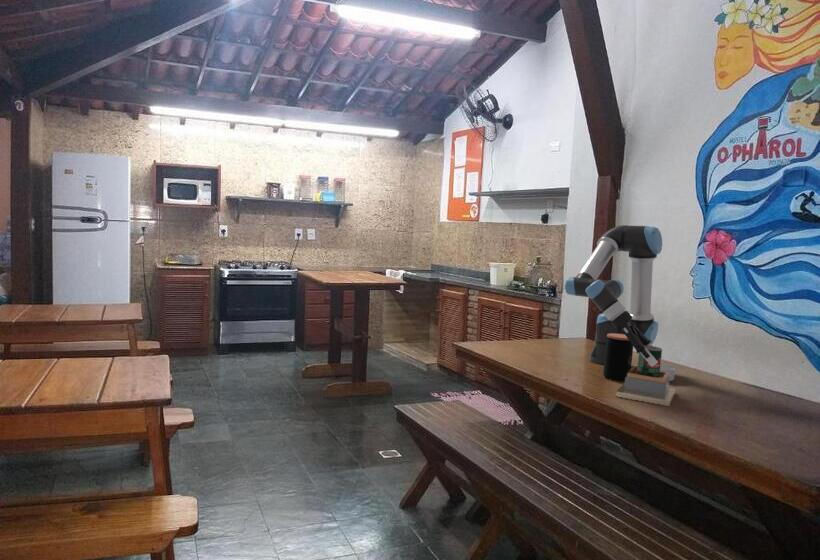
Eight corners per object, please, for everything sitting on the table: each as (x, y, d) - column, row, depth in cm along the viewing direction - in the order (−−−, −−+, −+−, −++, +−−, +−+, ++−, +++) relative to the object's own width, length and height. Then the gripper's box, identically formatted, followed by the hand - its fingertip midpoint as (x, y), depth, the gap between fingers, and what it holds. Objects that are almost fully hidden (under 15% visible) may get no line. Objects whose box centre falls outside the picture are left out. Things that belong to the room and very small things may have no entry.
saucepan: (621, 375, 256) (623, 362, 256) (663, 376, 261) (665, 363, 260) (637, 382, 245) (638, 369, 245) (680, 383, 249) (682, 370, 249)
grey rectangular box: (625, 384, 239) (627, 363, 239) (674, 393, 231) (676, 371, 230) (616, 396, 220) (618, 373, 219) (669, 406, 211) (671, 382, 211)
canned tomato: (651, 380, 219) (654, 350, 218) (632, 374, 225) (635, 346, 224) (663, 378, 224) (666, 349, 223) (644, 373, 230) (647, 344, 229)
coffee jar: (632, 383, 243) (636, 339, 242) (604, 380, 245) (609, 336, 244) (626, 376, 254) (631, 334, 252) (600, 374, 256) (605, 332, 254)
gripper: (615, 318, 241) (652, 362, 235) (604, 325, 220) (644, 373, 214) (630, 307, 238) (668, 351, 232) (620, 312, 217) (661, 361, 211)
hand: (657, 361), depth 223 cm, fingers open, 12 cm apart
